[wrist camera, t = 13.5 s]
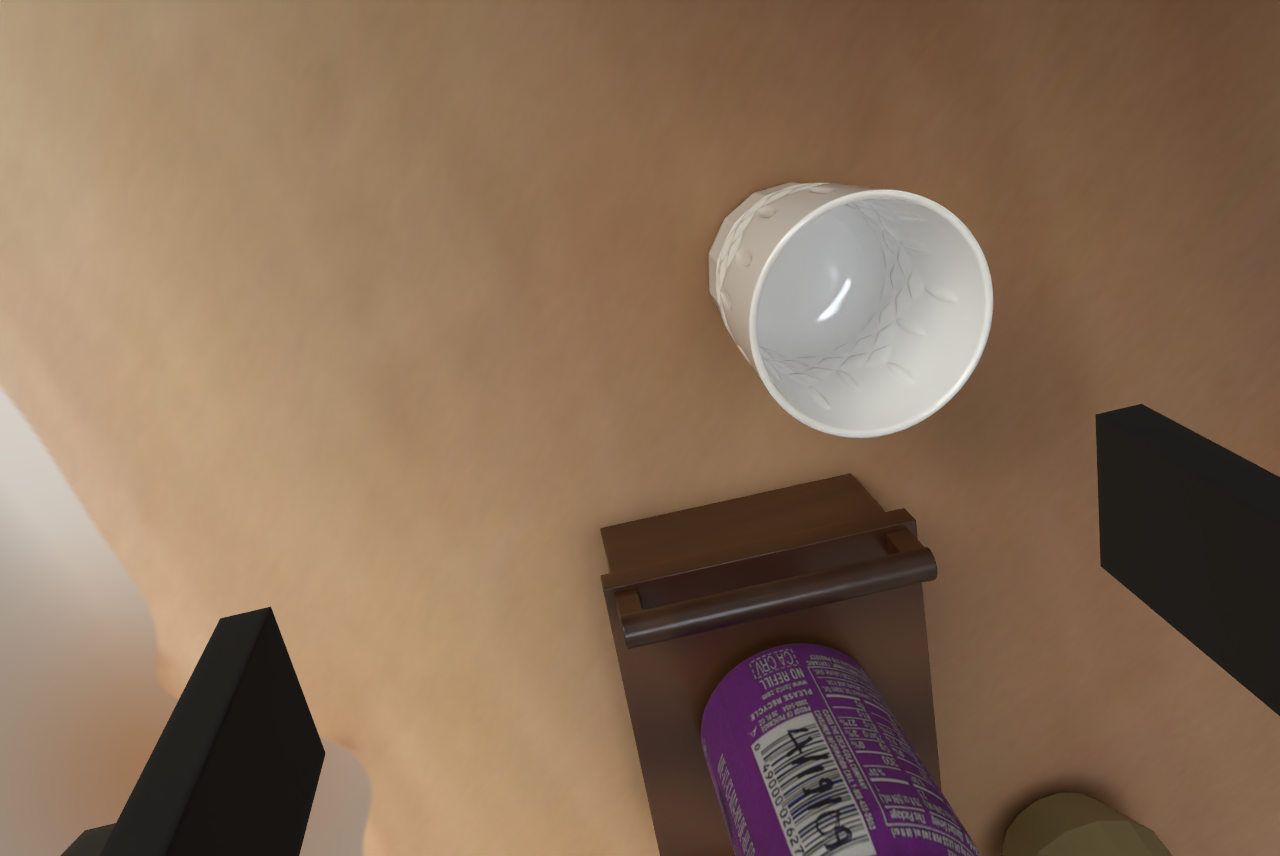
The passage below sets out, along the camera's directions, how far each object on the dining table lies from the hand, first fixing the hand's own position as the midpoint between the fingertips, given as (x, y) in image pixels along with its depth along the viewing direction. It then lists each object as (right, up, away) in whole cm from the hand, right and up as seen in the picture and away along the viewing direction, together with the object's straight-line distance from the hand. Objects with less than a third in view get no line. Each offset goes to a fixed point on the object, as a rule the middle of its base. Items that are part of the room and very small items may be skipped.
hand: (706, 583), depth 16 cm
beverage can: (+5, -9, +24) cm, 26 cm away
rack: (+4, -8, +31) cm, 32 cm away
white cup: (+5, +9, +25) cm, 27 cm away
